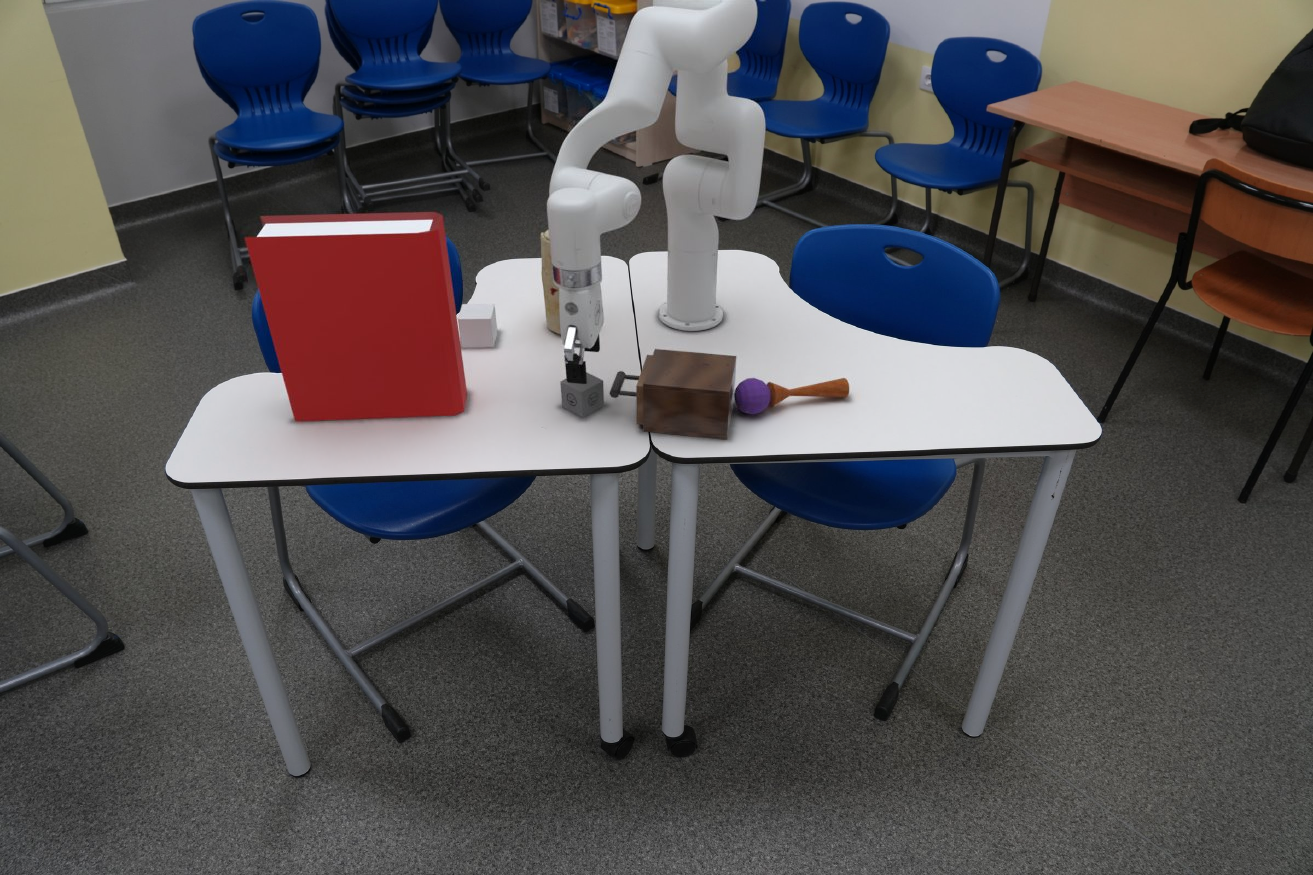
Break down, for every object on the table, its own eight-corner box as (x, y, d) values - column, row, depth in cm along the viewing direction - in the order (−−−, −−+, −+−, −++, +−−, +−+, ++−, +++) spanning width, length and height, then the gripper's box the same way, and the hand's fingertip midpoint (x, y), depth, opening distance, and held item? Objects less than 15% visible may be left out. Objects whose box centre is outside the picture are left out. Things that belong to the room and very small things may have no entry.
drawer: (607, 421, 147) (606, 383, 143) (619, 389, 155) (618, 352, 151) (713, 431, 145) (715, 393, 141) (720, 398, 153) (722, 361, 149)
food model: (577, 338, 171) (572, 238, 160) (542, 337, 171) (534, 238, 160) (582, 314, 179) (577, 217, 168) (548, 313, 179) (541, 217, 168)
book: (295, 421, 148) (244, 237, 130) (306, 395, 155) (260, 216, 136) (463, 415, 150) (437, 232, 131) (467, 389, 156) (443, 211, 138)
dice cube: (583, 394, 155) (582, 369, 152) (604, 405, 152) (603, 380, 150) (562, 406, 152) (560, 381, 149) (582, 418, 149) (581, 392, 146)
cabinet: (643, 431, 146) (642, 383, 141) (654, 395, 155) (654, 348, 150) (727, 439, 144) (729, 391, 139) (733, 402, 153) (736, 355, 148)
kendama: (856, 386, 150) (745, 396, 145) (846, 412, 154) (737, 423, 149) (842, 363, 154) (733, 372, 149) (833, 389, 158) (726, 398, 153)
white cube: (494, 347, 168) (490, 318, 165) (461, 348, 168) (457, 319, 165) (497, 331, 173) (494, 303, 170) (466, 332, 173) (462, 304, 170)
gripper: (588, 299, 131) (594, 397, 141) (612, 248, 144) (616, 341, 155) (538, 296, 132) (548, 393, 142) (567, 245, 146) (574, 338, 156)
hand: (583, 366), depth 148 cm, fingers open, 9 cm apart
